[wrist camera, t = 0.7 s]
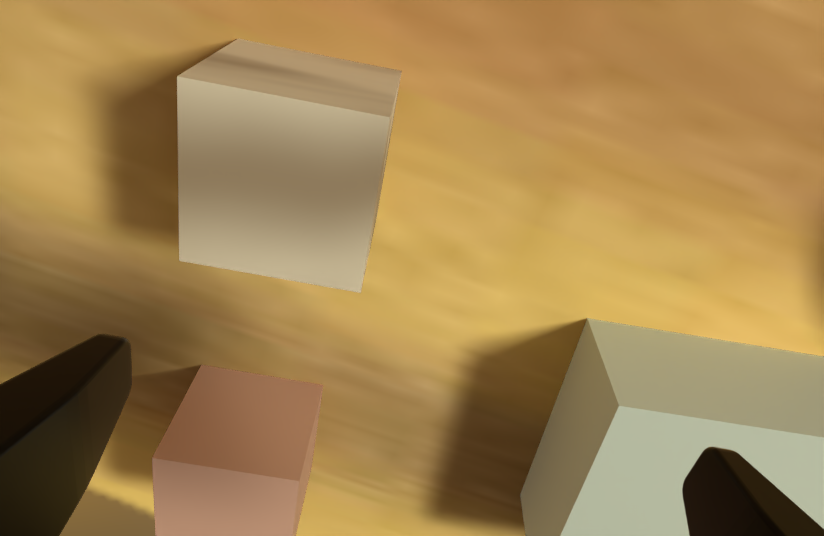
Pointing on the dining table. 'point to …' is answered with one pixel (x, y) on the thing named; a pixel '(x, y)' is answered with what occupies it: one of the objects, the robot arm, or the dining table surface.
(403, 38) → the dining table surface
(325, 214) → the birch cube
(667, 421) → the sage block
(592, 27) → the dining table surface
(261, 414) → the terracotta cube
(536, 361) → the dining table surface
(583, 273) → the dining table surface
